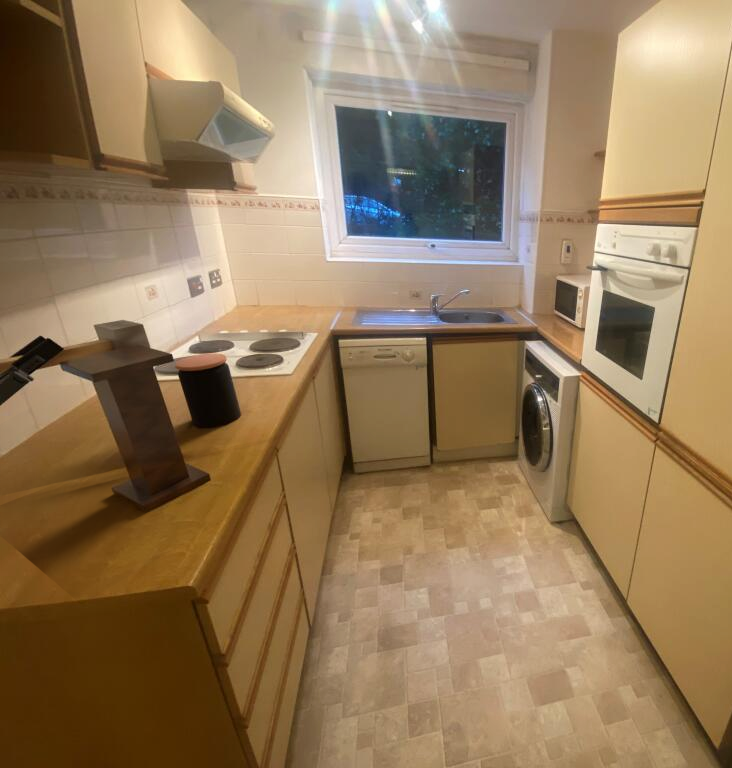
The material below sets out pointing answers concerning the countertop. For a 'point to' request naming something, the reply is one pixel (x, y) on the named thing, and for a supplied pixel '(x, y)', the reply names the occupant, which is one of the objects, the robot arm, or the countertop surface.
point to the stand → (139, 424)
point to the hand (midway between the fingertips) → (52, 342)
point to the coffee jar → (208, 390)
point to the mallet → (96, 343)
